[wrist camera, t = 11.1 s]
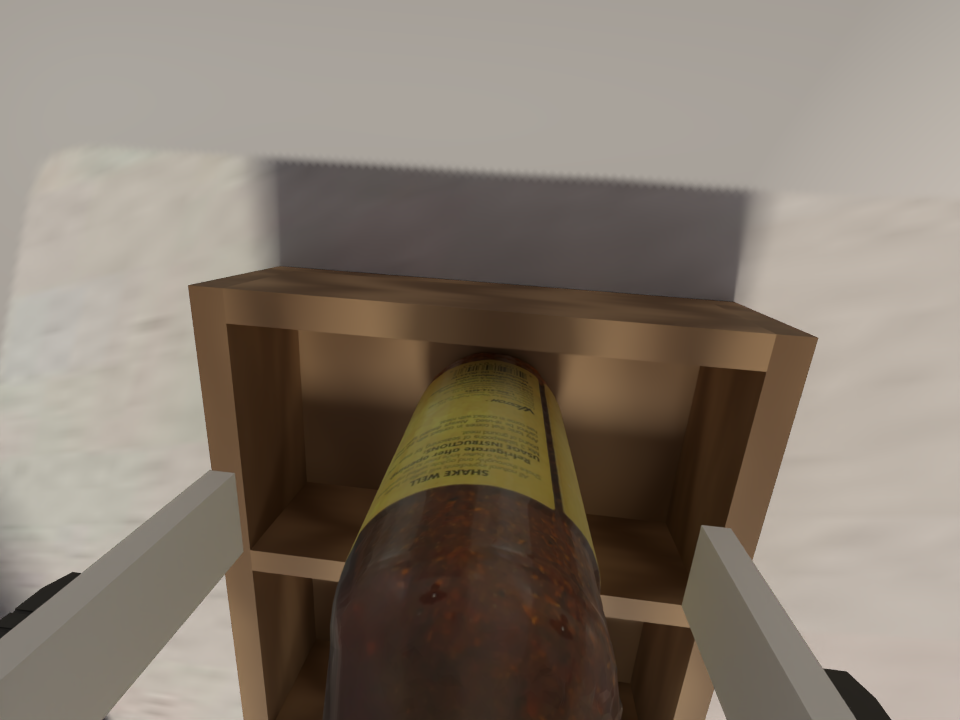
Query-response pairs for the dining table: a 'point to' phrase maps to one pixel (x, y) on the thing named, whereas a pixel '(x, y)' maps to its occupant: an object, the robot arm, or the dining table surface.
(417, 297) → the caddy
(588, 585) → the sauce bottle
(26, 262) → the dining table surface
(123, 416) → the dining table surface
